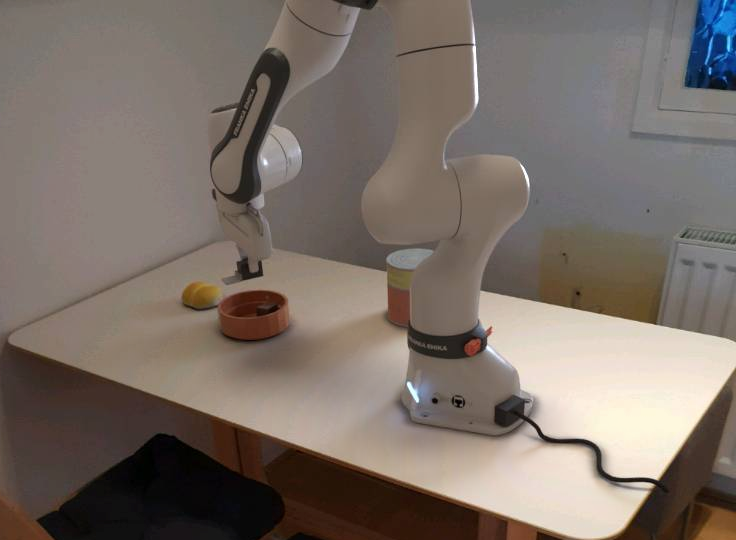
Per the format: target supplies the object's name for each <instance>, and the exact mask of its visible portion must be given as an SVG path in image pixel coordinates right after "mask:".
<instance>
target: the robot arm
mask: <svg viewBox="0 0 736 540" xmlns="http://www.w3.org/2000/svg"><path fill="white" fill-rule="evenodd" d="M471 3H472V2H471V0H284V4H283V7H282V8H281V12H280V15H279V18H278V20H277V22H276V24H275V27H274V29H273V31H272V33H271V35H270V38H269V40H268V42H267V43H266V46H265V48H264V49H263V51H262V53H261V54H260V55H259V57H258V59H257V61H256V63H255V65H254V66H253V69H252V71H251V73H250V75H249V78H248V79H247V82H246V85H245V87H244V89H243V92H242V94H241V97H240V99H239V102H234V103H230V104H227V105H222V106H219V107H217V108H214V109H213V110H212V111H211V112H210V113H209V115H208V120H207V121H208V122H207V135H208V136H207V137H208V145H209V152H210V153H209V154H210V159H209V174H210V178H211V182H212V183H213V185H214V186H213V187H211V189H210V193H211V197H212V199H213V200H214V201H215V208H216V213H217V217H218V223H219V225H220V228H221V231H222V233H223V234H224V235H226V236H227V237H228V239H230V240H231V241H232V242H233V243H235V247H236V249H237V252H238V255H239V261H241V260H246V259H248V262H247V266H248V270H249V271H250V272H251V273H253V272H257V271H258V270H259V268H258V261H265V260H269V259H272V258H273V255H274V249H273V243H272V235H271V231H270V226H269V222H268V220H267V218H266V216H264V215H263V214H261V209H263V208H264V206H265V204H266V202H265V193H267V192H269V191H271V190H275V189H276V188H278V187H279V186H282V185H284V184H287V183H289V182H290V181H292V180H293V179H295V178H297V177H298V176H299V174H300V173H301V171H302V168H303V164H304V153H303V148H302V145H301V142H300V141H299V139H298V137H297V135H296V134H295V133H294V132H293V131H291V130H290V129H289V128H288V127H286V126H282V125H278V124H275V122H276V120H277V117H278V115H279V114H280V112H281V111H282V109H283V107H284V106H286V104H287V103H288V102H289V101H290V100H291V99H292V98H293V97H295V95H297V94H298V93H299V92H301V91H302V90H304V89H305V88H307V87H309V86H311V85H312V84H313V83H315V82H316V81H318V80H321V78H323V77H324V76H326V75H327V74H329V73H330V72H332V70H334V68H335V67H336V66H337V64H338V62H339V61H340V59H341V58H342V56H343V54H344V52H345V51H346V48H347V47H348V44H349V42H350V39H351V36H352V34H353V31H354V28H355V25H356V22H357V20H358V16H359V14H360V12H361V9H362V10H365V11H371V10H372V9H373V8H377V9H381V10H382V9H383V10H384V11H385V12H386V13H387V14H388V16H389V17H390V20H391V23H392V27H393V36H394V50H395V51H394V52H395V54H394V55H395V63H396V64H395V65H396V77H397V91H398V92H397V96H398V97H397V98H398V119H397V126H396V131H395V136H394V139H393V142H392V145H391V147H390V150H389V152H388V154H387V156H386V158H385V159H384V161H383V163H382V164H381V166H380V167H379V168H378V169H377V170H376V172H375V173H374V174H373V175H372V176H370V179H369V180H368V181H367V182H366V185H365V186H364V190H363V192H362V196H361V203H360V210H361V218H362V221H363V223H364V226H365V228H366V230H367V232H368V233H369V234H370V235H371V237H372V238H373V239H374V240H375V241H377V242H378V243H379V244H383V245H400V246H412V245H418V244H424V243H430V242H435V241H440V242H439V244H438V245H437V246H436V248H435V250H434V252H433V253H432V254H431V255H430V256H429V257H427V258H426V259H425V260H423V261H422V262H421V263H420V264H419V265H418V266H417V267H416V268H415V270H414V272H413V274H412V276H411V279H410V319H409V320H408V325H407V327H406V329H407V331H406V335H407V336H406V342H407V348H408V362H407V368H406V375H405V381H404V385H403V389H402V391H401V394H400V400H401V403H402V405H403V406H404V407H405V408H406V409H407V410H408V412H409V416H410V417H409V418H410V420H411V422H414V423H417V424H423V425H428V426H434V427H441V428H446V429H447V428H448V429H453V430H459V431H464V432H465V431H466V432H471V433H476V434H482V435H488V436H494V437H495V436H501V435H504V434H507V433H509V432H511V431H513V430H515V429H516V428H518V427H519V426H520V425H521V424H523V422H525V423H527V424H529V425H530V426H531V427H532V428H534V430H535V432H536V433H537V435H538V436H539V438H540V439H542V440H544V441H546V442H548V443H552V444H582V445H587V446H589V447H590V448H592V449H593V450H594V451H595V454H596V455H595V456H596V462H595V463H596V470H597V472H598V473H599V475H601V476H602V477H603V478H604V479H605V480H608V481H610V482H613V483H621V484H628V483H629V484H630V483H631V484H632V483H646V484H647V483H648V484H652V485H655V486H657V487H658V488H659V489H661V490H662V491H663V492H664V493H667V494H668V493H671V492H670V491H671V490H670V489H669V488H668V487H667V486H666V484H664V483H663V482H662V481H660V480H657V479H655V478H652V477H646V476H643V477H642V476H641V477H640V476H637V477H635V476H633V477H618V476H613V475H611V474H609V473H607V472H606V471H605V470H604V468H603V466H602V451H601V449H600V447H599V446H598V445H597V444H596V443H594V442H593V441H591V440H589V439H585V438H553V437H551V436H547V435H545V433H543V431H542V429H541V427H540V426H539V424H537V423H536V422H535V421H534V420H533V419H531V418H530V417H529V416H530V414H531V412H532V410H533V407H534V399H533V395H532V394H531V393H529V392H527V391H525V390H522V389H521V382H520V381H521V380H520V375H519V372H518V370H517V369H516V367H515V366H514V365H512V364H511V363H510V362H509V361H508V360H507V359H506V358H504V357H503V356H502V355H501V354H500V353H499V352H498V351H497V350H496V349H495V348H493V347H492V346H491V345H490V344H489V343H488V338H489V337H490V336H491V335H492V333H493V331H492V330H493V326H492V325H491V326H490V327H488V328H487V329H486V330H485V328H484V327H483V325H482V322H481V320H480V318H479V311H480V299H481V298H480V297H481V290H482V281H483V276H484V274H485V273H484V272H485V269H486V267H487V264H488V261H489V259H490V258H491V255H492V253H493V252H494V250H495V248H496V246H497V245H498V244H499V242H500V241H501V239H502V238H503V236H504V235H505V234H506V233H507V232H508V230H510V228H512V227H513V226H514V225H516V223H517V222H519V220H520V219H521V218H522V217H523V215H524V214H525V212H526V210H527V208H528V204H529V201H530V195H531V187H530V185H531V184H530V179H529V175H528V172H527V171H526V169H525V167H524V166H523V165H522V163H521V162H520V161H519V160H518V159H517V158H516V157H514V156H510V155H500V154H487V153H482V154H475V155H468V156H462V157H455V158H448V159H445V151H446V148H447V144H448V141H449V139H450V138H451V135H452V134H454V133H455V132H456V131H457V130H459V129H460V128H462V127H464V125H466V123H468V122H469V120H470V119H471V118H472V117H473V116H474V113H475V112H476V110H477V107H478V103H479V86H478V68H477V50H476V49H477V47H476V35H475V24H474V15H473V10H472V4H471Z"/></svg>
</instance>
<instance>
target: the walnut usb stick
mask: <svg viewBox="0 0 736 540" xmlns="http://www.w3.org/2000/svg"><path fill="white" fill-rule="evenodd" d="M277 310H278V303H271V302H267V303H264V304H262V305H260V306H258V307H256V311H257V316H256V317H259V316H264V315H268V314H271V313H273V312H276V311H277Z"/></svg>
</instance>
